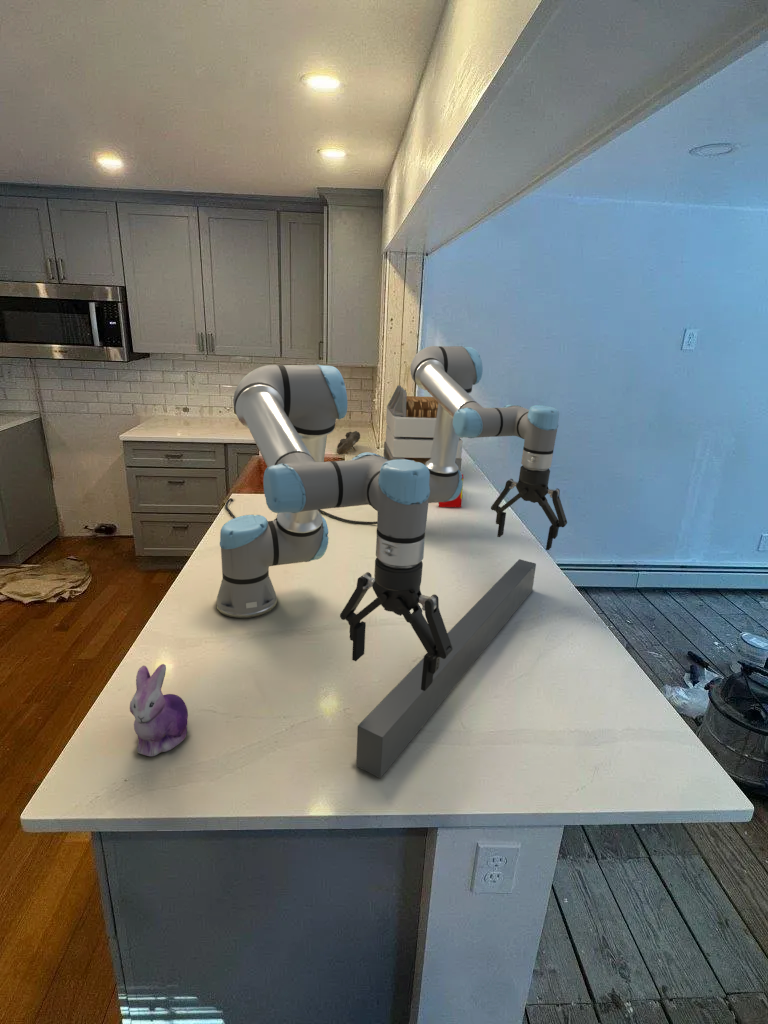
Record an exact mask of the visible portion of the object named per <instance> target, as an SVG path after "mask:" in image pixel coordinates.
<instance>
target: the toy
mask: <svg viewBox="0 0 768 1024" xmlns="http://www.w3.org/2000/svg"><path fill="white" fill-rule="evenodd" d="M461 474H462V481H463V482H464V474H463V473H461ZM463 490H464V484H463V485H462V490H461V493H460V494H459V496H458V497H457V498H456V499H454V500H452V501H447V502H438V508H462V502H463V501H462V500H463Z"/></svg>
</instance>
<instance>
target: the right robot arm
mask: <svg viewBox="0 0 768 1024" xmlns="http://www.w3.org/2000/svg"><path fill="white" fill-rule="evenodd" d="M483 367H484V366H483V361H482V358H481V355H480V354H479V352H478V350H477V349H475V348H474V347H470V346H463V345H460V346H459V345H457V346H455V345H451V346H449V345H447V346H445V345H444V346H443V345H441V346H440V345H439V346H438V345H430V346H426V347H424V348H422V349H421V350H419V351H418V352H417V353H416V354H415V355H414V356H413V358H412V360H411V363H410V368H409V369H410V376H411V378H412V380H413V382H414V383H415V385H416V386H417V387H418V388H420V390H424V391H427V392H428V393H429V395H431V397H434V398H435V399H436V401H437V402H438V410H437V417H436V424H435V431H434V438H433V445H432V452H431V459H430V460H428V461H427V462H426V463H425V465H426V466H427V468H428V469H429V472H430V478H429V486H430V495H429V502H428V504H433V503H439V502H447V501H452V500H454V499H456V498H457V497H458V496H459V494H460V493H461V490H462V485H463V486H464V480H463V481H462V474H463V473H462V471H461V472H460V471H459V470H458V466H457V465H456V463H455V459H456V453H457V447H458V441H459V437H462V438H461V439H463V438H465V439H476V438H492V437H493V438H495V437H498V438H499V437H517V438H520V439H522V440H524V442H523V449H522V455H521V462H520V464H521V466H520V468H519V469H520V470H519V476H518V480H517V481H515V480H514V479H513V478H509V479H508V480H506V482H505V485H504V488H503V490H502V491H501V492H500V493H499V495H498V497H496V499H495V501H494V502H493V503H492V505H491V506H490V510H491V511H494V512H495V513H496V518H495V524H496V525H498V527H497V535H496V537H497V538H501V537H502V536H503V535H504V531H505V525H506V518H507V517H506V516H507V512H505V510H507V509H508V508H509V507H511V506H512V505H513V504H514V503H515V502H517V501H518V500H520V499H522V500H523V501H524V502H530V503H534V504H535V503H537V504H538V506H540V507H541V509H542V511H543V512H544V514H545V516H546V517H547V519H548V521H549V522H550V524H551V525H550V526H549V529H548V535H547V540H546V546H545V550H546V551H550V549H551V548H553V547H552V546H553V542H554V541H553V540H556V538H557V537H558V534H559V529H560V528H565V526H567V524H568V519H567V517H566V514H565V510H564V507H563V503H562V501H561V497H560V495H561V490H560V489H559V488H557V487H556V488H555V489H554V488H549V481H550V476H551V475H550V474H551V470H550V469H551V467H552V464H553V456H554V449H555V445H556V439H557V434H558V429H559V420H560V412H559V409H558V408H556V407H554V406H549V405H539V404H538V405H532V406H530V407H529V409H528V408H525V407H523V406H521V405H519V404H517V405H516V404H506V405H504V406H503V407H484V406H483V405H481V404H480V403H479V402H478V401H477V400H476V399H475V398H474V397H472V395H470V394H471V393H472V391H473V386H475V385H477V384H479V383H480V381H481V379H482V377H483V373H484V372H483V371H484V370H483ZM514 488H516V490H517V492H518V493H517V494H515V495H514V496H513V497H512V498H510V499H509V500H508V501H507V502H506V503H504V504H503V505H502V506H500V505H501V504H502V502H503V500H504V499H505V498H506V497H507V495H508V494H509V493H510V491H511V490H513V489H514ZM547 495H549V497H550V498H551V500H552V505H553V507H554V509H552V507H551V505H550V503H549V502H548V498H546V496H547ZM554 510H555V512H554ZM318 511H319V512H320V513H321V514H323V515H325V516H328V517H330V518H333V519H335V520H338V521H341V522H345V523H350V524H358V525H377V520H376V521H364V520H363V521H361V520H352V519H346V518H343V517H339V516H337V515H334V514H331V513H329V512H328V511H327V512H326V511H325V510H323V509H319V510H318ZM555 513H556V514H555Z"/></svg>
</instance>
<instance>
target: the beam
mask: <svg viewBox="0 0 768 1024" xmlns="http://www.w3.org/2000/svg"><path fill="white" fill-rule="evenodd" d="M536 567H537V563H536V562H532V561H528V560H524V559H518V560H517V561H516V562H515V563H514V564H513V565H512V566H511V567H510V568H509V569H508V570H507V571H506V572H505V573H504V574H503V576H501V577H500V578H499V579H498V581H497V582H495V583H494V585H492V586H491V588H489V590H488V591H487V592H486V593H485V594H484V595H483V596H482V597H481V598H480V599H479V600H478V601H477V602H476V603H475V604H474V605H473V606H472V607H471V608H470V610H468V611H467V612H466V613H465V614H464V616H463V617H461V619H460V620H459V621H458V622H457V623H456V624H455V625H454V626H453V627H452V628H451V629H450V630H449V631H447V633H448V636H449V639H450V642H451V645H452V648H453V650H452V651H451V653H450V654H449V655H448V656H447V657H446V658H445V659H442V658H441V657H440V662H439V668H438V670H437V671H436V672H435V673H434V674H433V682H432V684H431V685H430V686H429V687H428V688H427V689H426V690H425V691H423V690H421V683H422V672H423V661H424V657H423V658H422V659H421V660H420V661H419V662H418V663H417V664H416V665H415V666H414V667H413V668H412V669H411V670H410V671H409V672H408V673H407V674H406V675H405V676H404V677H403V678H402V680H400V682H399V683H397V685H396V686H395V687H393V688H392V689H391V690H390V692H389V693H388V694H387V695H386V696H385V697H384V698H383V699H382V700H381V701H380V702H379V703H378V704H377V705H376V706H375V707H374V708H373V709H372V710H371V711H370V712H369V713H368V715H366V716H365V718H363V719H362V720H361V722H359V724H358V725H357V730H356V731H357V732H356V733H357V735H356V763H355V767H357V768H359V769H361V770H363V771H365V772H367V773H369V774H371V775H373V776H375V777H377V778H379V779H381V778H382V777H383V776H384V775H385V774H386V772H388V770H389V769H390V768H391V767H392V765H393V763H395V761H396V760H397V759H398V758H399V756H400V755H401V754H402V753H403V751H404V750H405V748H407V746H408V745H409V744H410V742H411V741H412V740H413V738H415V736H416V735H417V734H418V733H419V732H420V730H421V729H422V728H423V727H424V726H425V724H426V723H427V722H428V720H429V719H430V717H432V715H433V714H434V713H435V712H436V710H437V709H438V708H439V707H440V705H441V704H442V703H443V702H444V700H445V699H446V698H447V697H448V696H449V694H450V693H451V692H452V691H453V690H454V688H455V687H456V686H457V684H458V683H459V682H460V681H461V679H462V678H463V677H464V676H465V674H467V672H468V671H469V669H470V668H471V667H472V666H473V665H474V664H475V662H476V661H477V660H478V658H479V657H480V656H481V654H483V652H484V651H485V649H487V647H488V646H489V645H490V644H491V642H493V640H494V638H495V637H496V636H497V635H498V633H500V631H501V630H502V629H503V628H504V626H505V625H506V624H507V623H508V621H509V620H510V619H511V618H512V617H513V615H514V614H515V613H516V611H517V610H518V609H519V607H520V606H521V605H522V604H523V603H524V601H525V600H526V599H527V598H528V597H529V595H530V594H531V593H532V591H533V588H534V580H535V573H536Z"/></svg>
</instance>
